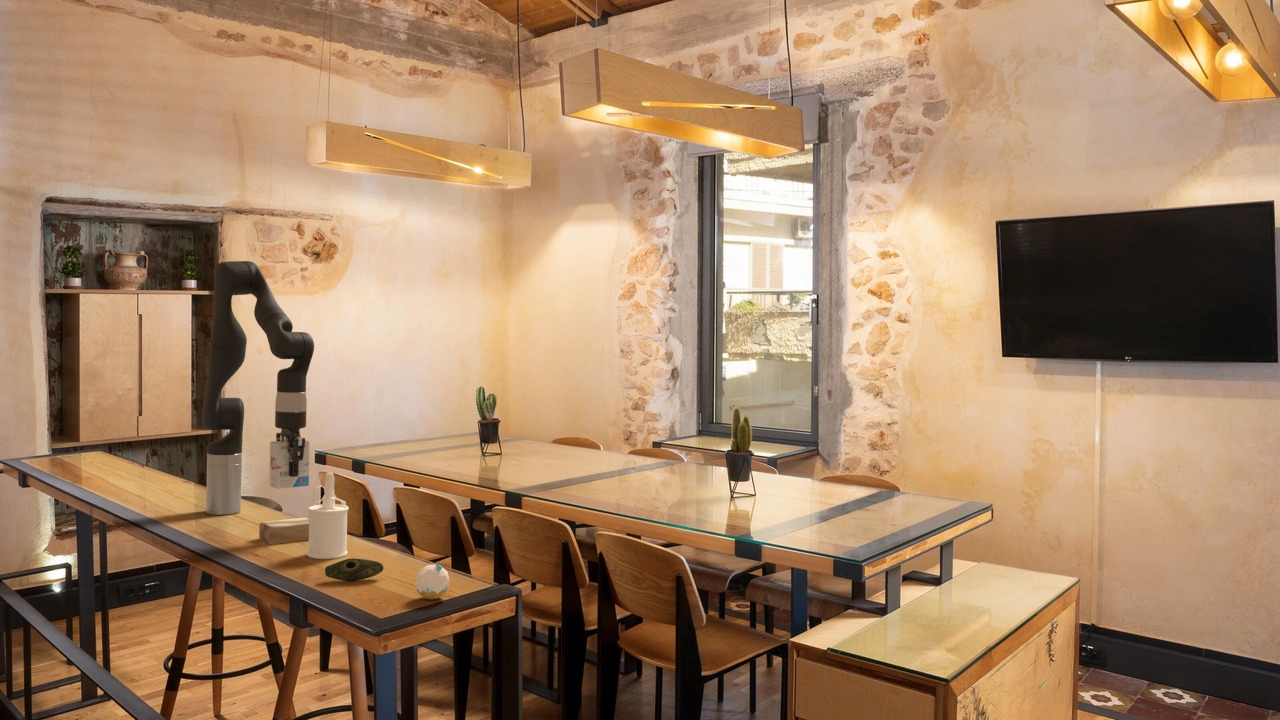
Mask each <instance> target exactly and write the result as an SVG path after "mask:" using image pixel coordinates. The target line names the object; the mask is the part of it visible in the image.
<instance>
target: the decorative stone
mask: <svg viewBox="0 0 1280 720" xmlns="http://www.w3.org/2000/svg"><path fill="white" fill-rule="evenodd" d="M324 568H325V569H324V574H325V576H326V577H328V578H331V579H334V580H339V581H344V582H348V583H351V582H358V581H362V580H365V579H369V578H372V577H375V576H378V575H380V573H382V572H383V571H384V565H383V563H382V562H379V561H377V560H376V561H375V560H370V559H364V558H346V559H343V560H340V561H337V562H335V563H331V564H329V565H326V566H325V567H324Z"/></svg>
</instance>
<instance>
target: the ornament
mask: <svg viewBox="0 0 1280 720" xmlns="http://www.w3.org/2000/svg"><path fill="white" fill-rule="evenodd" d="M439 563H440V564H442V563H443V562H442V561H440V562H439ZM439 563H434V564H429V565H426V566H423V567H422V568H421V570H419V572H417V573H416V577H415V587H416V592H417V593H418V594H419V595H420V596H421V597H422V598H424V599H426V600H433V601H434V600H437V599H440V598H441V597H443V596H444V595H445V594H446V593H447V591H448V590H449V586H450V583H451V582H450V578H449V572H448V570H446V569H445V568H444V567H443V566H442V565H440V564H439Z"/></svg>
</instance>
